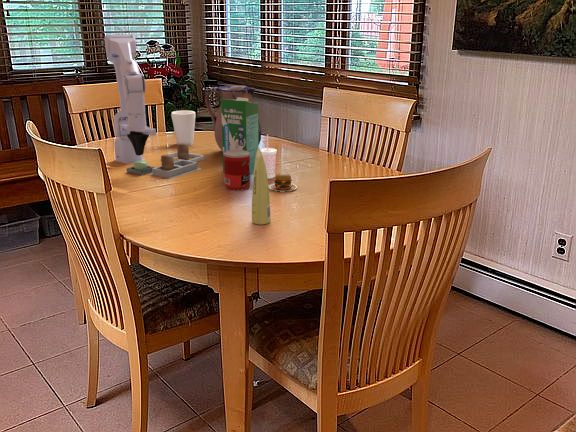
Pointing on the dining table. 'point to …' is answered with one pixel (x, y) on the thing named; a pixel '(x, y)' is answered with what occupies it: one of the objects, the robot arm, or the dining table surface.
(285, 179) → the hamburger
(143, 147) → the robot arm
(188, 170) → the grey rectangular tray
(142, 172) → the button housing
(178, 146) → the cylinder
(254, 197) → the tube
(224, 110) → the milk carton
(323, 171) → the dining table surface
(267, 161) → the beverage cup
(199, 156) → the white shallow tray
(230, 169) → the canned food
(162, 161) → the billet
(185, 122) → the foam cup
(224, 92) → the ceramic pitcher
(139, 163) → the button
